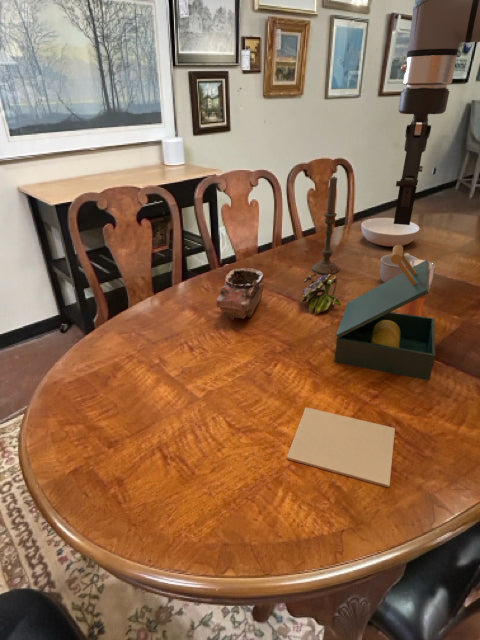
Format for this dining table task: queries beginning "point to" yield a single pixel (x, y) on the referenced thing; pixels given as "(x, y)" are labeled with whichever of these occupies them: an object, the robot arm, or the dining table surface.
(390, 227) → the serving bowl
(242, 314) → the brown shoe shaped pot
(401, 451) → the dining table surface
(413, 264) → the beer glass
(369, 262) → the dining table surface
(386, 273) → the teacup
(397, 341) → the yellow capsule
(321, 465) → the placemat
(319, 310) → the passion flower
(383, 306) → the lid
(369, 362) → the open box
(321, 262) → the candlestick holder
